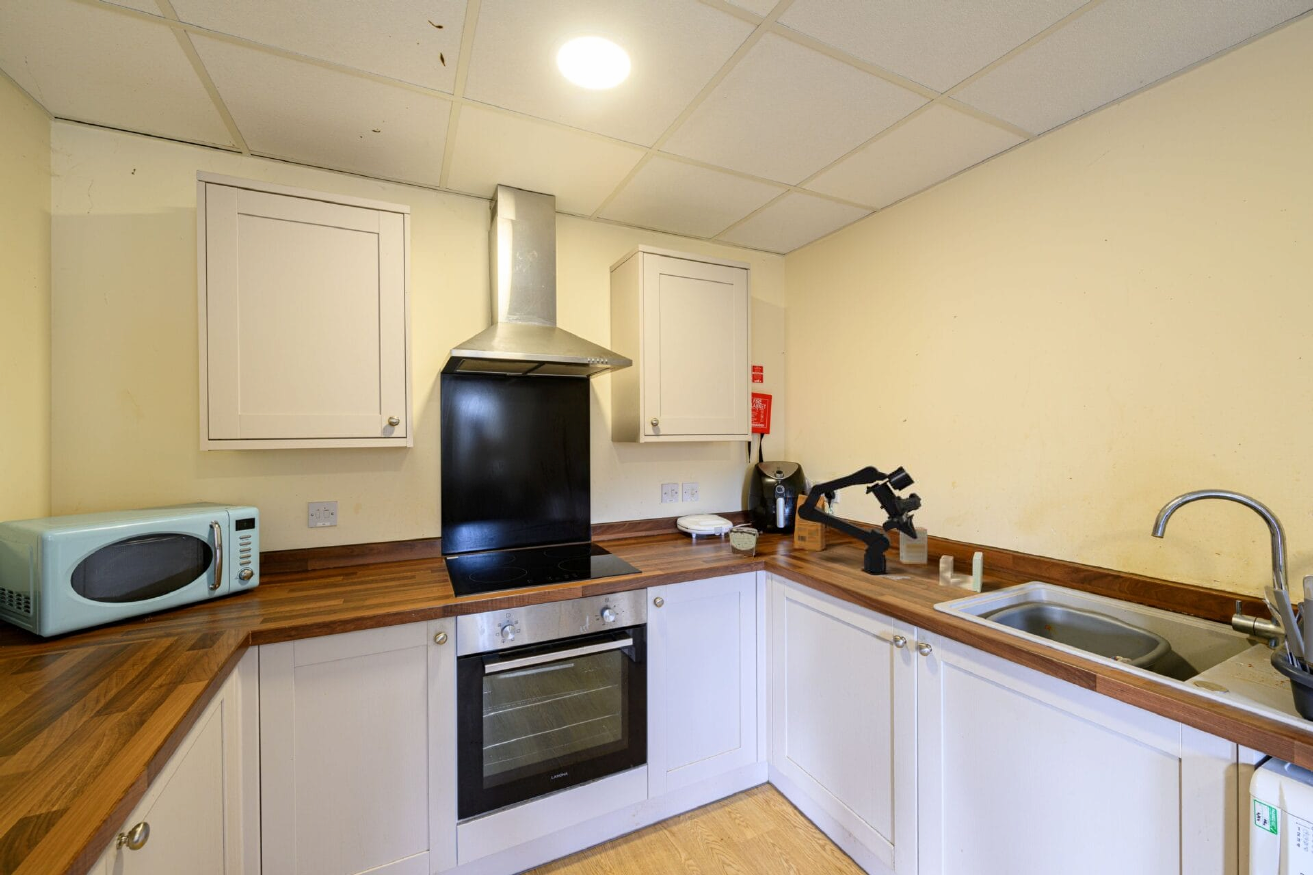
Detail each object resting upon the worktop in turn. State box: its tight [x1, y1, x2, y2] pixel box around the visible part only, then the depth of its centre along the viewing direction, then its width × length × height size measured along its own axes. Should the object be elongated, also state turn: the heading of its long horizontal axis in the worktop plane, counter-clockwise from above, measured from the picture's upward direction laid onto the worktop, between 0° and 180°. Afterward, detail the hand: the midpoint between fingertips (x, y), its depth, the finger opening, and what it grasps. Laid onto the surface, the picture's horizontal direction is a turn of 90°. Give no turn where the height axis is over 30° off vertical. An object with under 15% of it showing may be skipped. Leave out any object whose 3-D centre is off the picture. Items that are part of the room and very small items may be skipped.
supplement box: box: [899, 526, 928, 566], centre depth 194 cm, size 8×5×13 cm, turn 84°
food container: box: [727, 526, 759, 556], centre depth 206 cm, size 12×6×10 cm, turn 58°
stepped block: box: [939, 554, 973, 591], centre depth 167 cm, size 9×8×8 cm
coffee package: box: [793, 494, 826, 552], centre depth 217 cm, size 10×12×22 cm
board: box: [971, 551, 984, 593], centre depth 164 cm, size 2×11×10 cm, turn 146°
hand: (916, 538), depth 175 cm, fingers closed
